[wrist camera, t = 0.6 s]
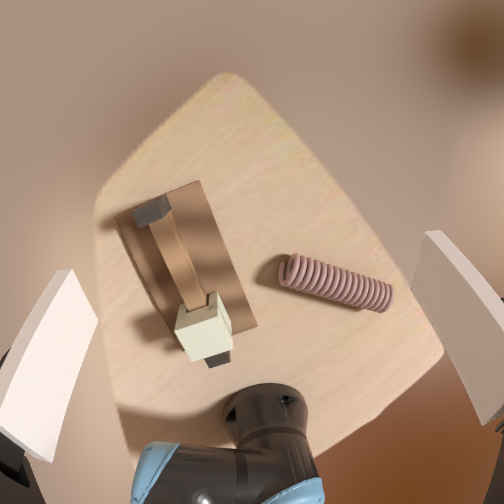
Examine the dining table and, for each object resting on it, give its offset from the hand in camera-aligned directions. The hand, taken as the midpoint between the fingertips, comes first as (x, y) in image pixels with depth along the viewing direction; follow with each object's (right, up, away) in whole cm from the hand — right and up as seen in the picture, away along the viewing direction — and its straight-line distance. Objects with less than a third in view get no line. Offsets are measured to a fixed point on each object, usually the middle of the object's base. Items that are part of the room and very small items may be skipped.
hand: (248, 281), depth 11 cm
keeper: (-6, -7, +32) cm, 33 cm away
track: (-8, -2, +31) cm, 32 cm away
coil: (+12, -3, +34) cm, 36 cm away
